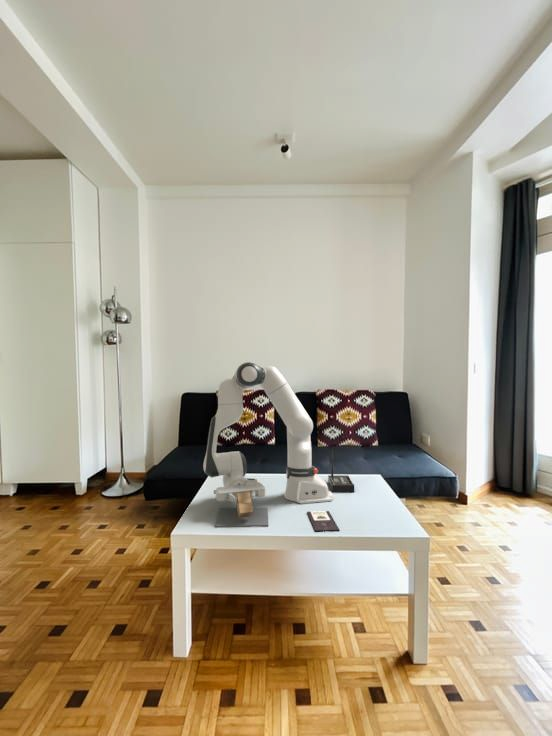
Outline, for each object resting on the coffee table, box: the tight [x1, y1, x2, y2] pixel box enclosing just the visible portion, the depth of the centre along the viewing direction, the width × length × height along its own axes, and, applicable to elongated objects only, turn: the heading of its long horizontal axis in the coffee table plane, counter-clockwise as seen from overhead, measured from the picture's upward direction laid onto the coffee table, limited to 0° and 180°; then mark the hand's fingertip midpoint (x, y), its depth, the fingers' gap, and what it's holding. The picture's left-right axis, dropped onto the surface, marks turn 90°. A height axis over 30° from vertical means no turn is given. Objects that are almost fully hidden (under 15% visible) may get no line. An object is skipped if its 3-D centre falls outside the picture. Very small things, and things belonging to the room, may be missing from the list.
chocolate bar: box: [306, 510, 341, 533], centre depth 149 cm, size 9×1×18 cm
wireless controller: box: [327, 448, 355, 493], centre depth 193 cm, size 20×14×17 cm
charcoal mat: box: [214, 506, 269, 528], centre depth 153 cm, size 20×18×1 cm
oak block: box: [235, 492, 254, 518], centre depth 150 cm, size 5×4×8 cm
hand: (244, 498), depth 150 cm, fingers open, 5 cm apart
